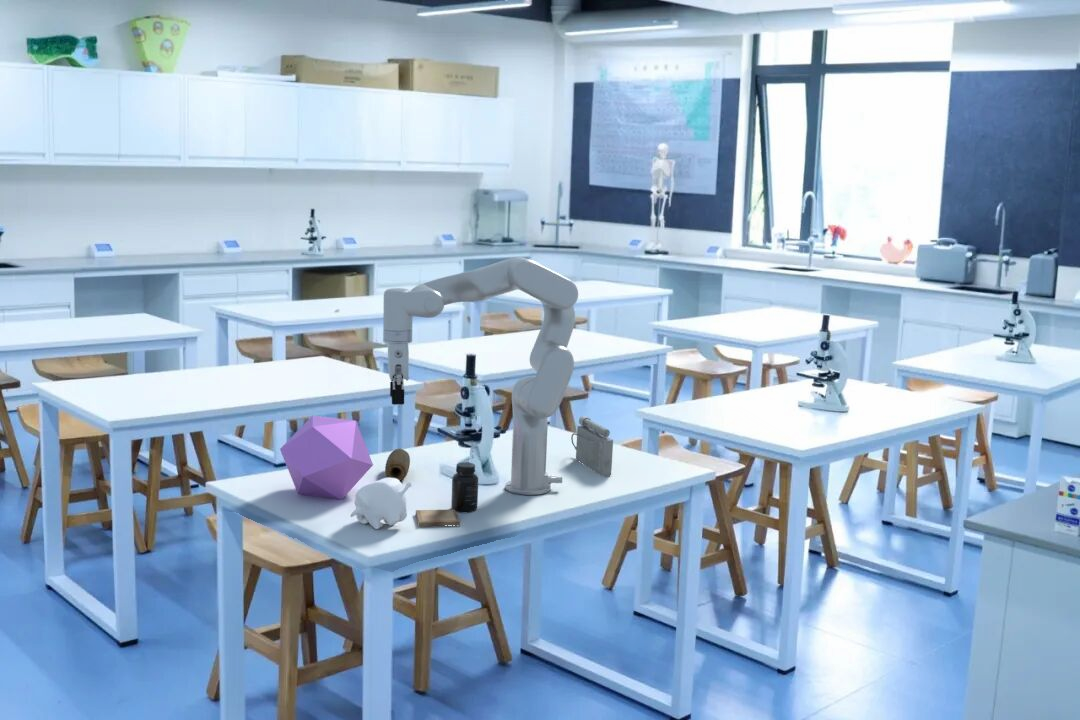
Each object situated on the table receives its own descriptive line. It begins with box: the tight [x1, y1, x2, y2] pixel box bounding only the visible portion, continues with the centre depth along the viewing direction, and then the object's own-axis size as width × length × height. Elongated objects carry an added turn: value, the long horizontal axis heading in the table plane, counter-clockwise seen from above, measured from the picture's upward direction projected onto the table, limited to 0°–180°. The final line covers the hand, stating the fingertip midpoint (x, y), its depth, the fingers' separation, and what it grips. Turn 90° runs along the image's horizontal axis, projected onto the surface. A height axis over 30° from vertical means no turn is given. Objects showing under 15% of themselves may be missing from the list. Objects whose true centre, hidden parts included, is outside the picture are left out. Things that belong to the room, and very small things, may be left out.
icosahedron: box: [279, 415, 374, 501], centre depth 306 cm, size 22×21×25 cm
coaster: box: [415, 508, 461, 528], centre depth 288 cm, size 10×10×1 cm
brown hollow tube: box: [384, 448, 411, 481], centre depth 326 cm, size 15×7×7 cm, turn 7°
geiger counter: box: [570, 415, 614, 477], centre depth 345 cm, size 14×6×25 cm
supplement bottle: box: [450, 461, 479, 513], centre depth 297 cm, size 7×7×12 cm
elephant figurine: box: [349, 477, 412, 530], centre depth 281 cm, size 12×18×12 cm
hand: (397, 400), depth 301 cm, fingers open, 9 cm apart
